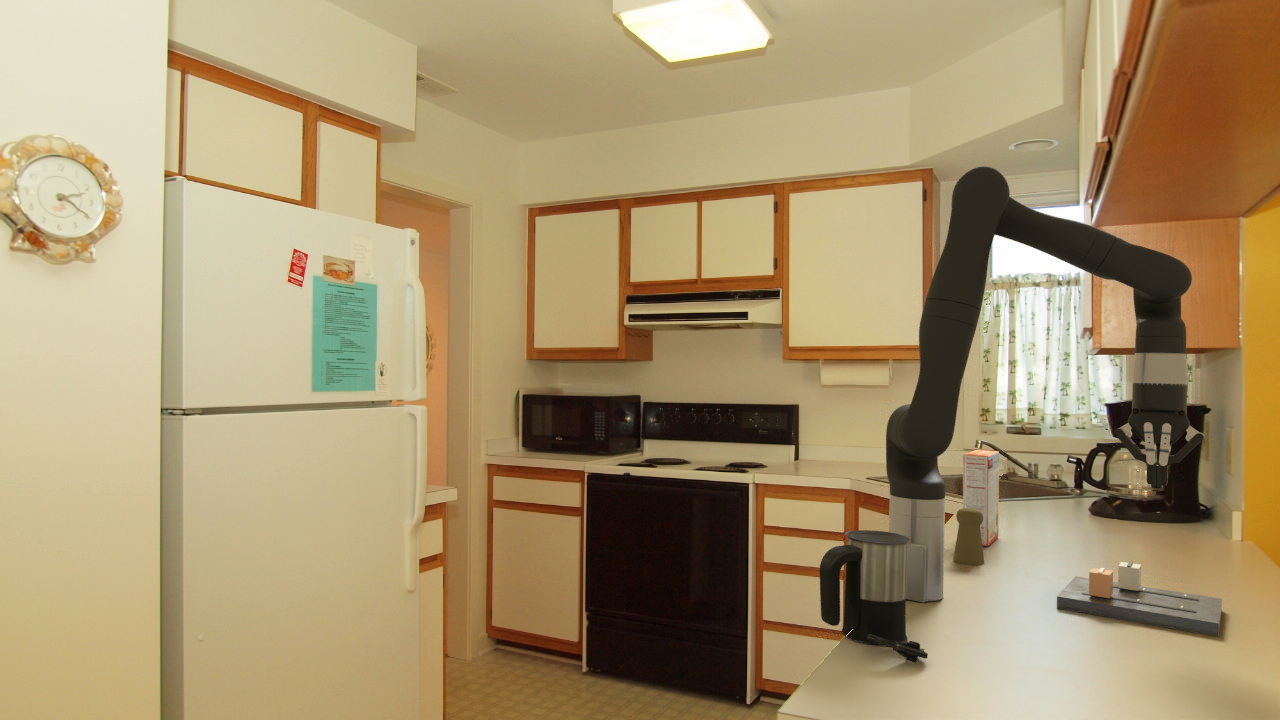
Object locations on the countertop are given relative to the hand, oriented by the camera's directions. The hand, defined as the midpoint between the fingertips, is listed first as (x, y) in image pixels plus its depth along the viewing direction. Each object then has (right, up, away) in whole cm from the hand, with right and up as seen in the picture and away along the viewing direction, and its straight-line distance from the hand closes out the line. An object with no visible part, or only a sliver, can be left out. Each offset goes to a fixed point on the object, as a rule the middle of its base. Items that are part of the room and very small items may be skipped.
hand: (1157, 488), depth 132 cm
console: (0, -21, +4) cm, 21 cm away
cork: (-16, -21, +37) cm, 46 cm away
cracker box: (-4, -22, +59) cm, 63 cm away
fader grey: (+1, -19, +9) cm, 21 cm away
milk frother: (-50, -20, -18) cm, 56 cm away
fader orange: (-7, -18, +4) cm, 20 cm away
